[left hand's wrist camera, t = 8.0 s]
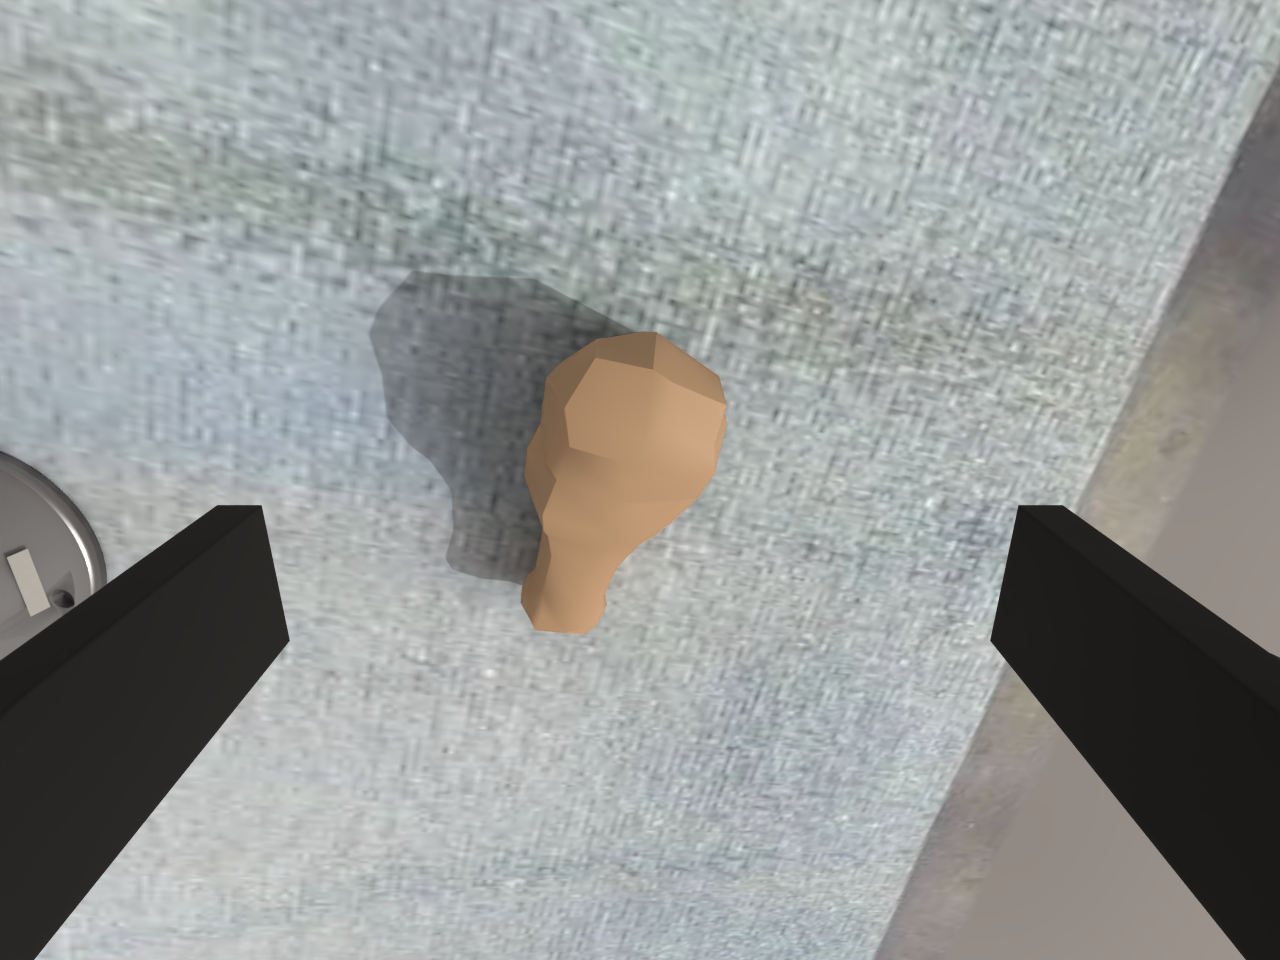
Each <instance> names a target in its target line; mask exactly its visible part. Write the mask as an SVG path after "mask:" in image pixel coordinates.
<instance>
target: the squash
mask: <svg viewBox="0 0 1280 960" xmlns="http://www.w3.org/2000/svg"><path fill="white" fill-rule="evenodd" d="M726 406H727V405H726V401H725V397H724V393H723V390H722V386H721V382H720V378H719V376H718V375H717V374H715V373H714V372H712V371H711V370H710V369H708V368H707V367H705V366H704V365H702V364H701V363H700V362H698V361H697V360H695V359H694V358H693V357H691V356H690V355H688V354H687V353H685V352H684V351H683V350H681V349H680V348H678V347H677V346H676V345H674V344H673V343H671V342H670V341H668V340H667V339H666V338H664V337H663V336H661V335H660V334H658V333H657V332H637V333H631V334H625V335H619V336H614V337H607V338H598V339H596V340H594V341H593V342H591V343H589V344H588V345H586V346H585V347H583V348H582V349H580V350H579V351H577V352H576V353H574V354H573V355H571V356H570V357H568V358H566V359H565V360H563V361H562V362H560V363H559V364H558V365H557V366H556V367H555V368H554V370H553V371H552V372H551V373H550V374H549V375H548V376H547V378H546V382H545V390H544V398H543V405H542V413H541V421H540V425H539V427H538V428H537V430H536V432H535V434H534V436H533V438H532V440H531V442H530V443H529V445H528V447H527V453H526V464H525V475H524V478H525V481H526V484H527V486H528V489H529V492H530V495H531V497H532V500H533V503H534V506H535V509H536V511H537V514H538V517H539V520H540V523H541V525H542V534H541V541H540V546H539V551H538V556H537V561H536V566H535V569H534V570H533V571H532V572H530V573H529V574H528V575H527V576H526V579H525V581H524V584H523V586H522V594H521V604H522V606H523V607H524V609H525V611H526V613H527V615H528V617H529V618H530V620H531V622H532V624H533V626H534V628H535V630H540V631H550V632H561V633H578V634H586V633H588V632H589V631H590V630H591V629H592V628H593V627H595V626H596V625H597V623H598V621H599V620H600V618H601V616H602V615H603V613H604V611H605V607H606V604H607V603H606V597H605V593H606V591H607V588H608V586H609V584H610V581H611V579H612V577H613V575H614V573H615V571H616V569H617V567H618V566H619V565H620V564H621V562H622V561H623V560H624V559H625V558H626V557H627V556H628V555H629V554H630V553H631V552H632V551H633V550H634V549H635V548H636V547H637V546H638V545H639V544H641V543H643V542H644V541H646V540H648V539H650V538H651V537H653V536H655V535H657V534H658V533H659V532H660V531H661V530H663V529H664V528H665V527H666V526H668V525H669V524H670V523H671V522H673V521H674V520H675V519H676V518H677V517H678V516H679V515H680V514H681V513H682V512H683V511H685V510H686V509H687V508H688V507H689V506H690V505H691V504H692V503H693V502H694V501H695V500H696V499H697V498H698V497H699V496H700V494H701V493H702V491H703V490H704V489H705V487H706V486H707V484H708V483H709V482H710V480H711V479H712V477H713V476H714V474H715V470H716V466H717V462H718V458H719V454H720V449H721V445H722V441H723V437H724V434H725V430H726V427H727V425H726V418H725V409H726Z"/></svg>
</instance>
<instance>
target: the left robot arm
mask: <svg viewBox="0 0 1280 960" xmlns="http://www.w3.org/2000/svg"><path fill="white" fill-rule="evenodd" d="M289 641H290V640H289V635H288V630H287V625H286V620H285V616H284V611H283V606H282V601H281V596H280V592H279V587H278V582H277V577H276V572H275V568H274V563H273V558H272V553H271V548H270V544H269V539H268V534H267V529H266V524H265V520H264V515H263V510H262V505H217V506H216V507H214V508H213V509H211V510H210V511H209V512H207V513H206V514H204V515H203V516H202V517H200V518H199V519H197V520H196V521H195V522H193V523H192V524H190V525H189V526H188V527H186V528H185V529H183V530H182V531H181V532H179V533H178V534H176V535H175V536H174V537H172V538H171V539H169V540H168V541H167V542H165V543H164V544H162V545H161V546H160V547H158V548H157V549H155V550H154V551H153V552H151V553H150V554H148V555H147V556H146V557H144V558H143V559H141V560H140V561H139V562H137V563H136V564H134V565H133V566H132V567H130V568H129V569H127V570H126V571H125V572H123V573H122V574H120V575H119V576H118V577H116V578H115V579H113V580H112V581H111V582H109V583H108V584H107V574H106V565H105V561H104V556H103V553H102V550H101V547H100V544H99V542H98V540H97V537H96V535H95V533H94V531H93V530H92V528H91V526H90V524H89V523H88V521H87V520H86V518H85V517H84V515H83V514H82V513H81V511H80V510H79V509H78V508H77V506H76V505H75V504H74V503H73V502H72V501H71V500H70V499H69V498H68V497H67V495H66V494H65V493H63V492H62V491H61V490H60V489H59V488H58V487H57V486H56V485H55V484H53V483H52V482H51V481H49V480H48V479H47V478H46V477H44V476H43V475H41V474H40V473H38V472H37V471H35V470H34V469H32V468H31V467H29V466H27V465H25V464H24V463H22V462H20V461H18V460H16V459H14V458H12V457H9V456H7V455H4V454H2V453H0V960H34V959H35V958H36V957H37V955H38V954H39V953H40V952H41V950H42V949H43V948H44V947H45V945H46V944H47V943H48V942H49V940H50V939H51V938H52V937H53V935H54V934H55V933H56V932H57V930H58V929H59V928H60V927H61V926H62V924H63V923H64V922H65V921H66V919H67V918H68V917H69V916H70V914H71V913H72V912H73V911H74V909H75V908H76V907H77V906H78V904H79V903H80V902H81V901H82V899H83V898H84V897H85V896H86V894H87V893H88V892H89V891H90V889H91V888H92V887H93V886H94V884H95V883H96V882H97V881H98V879H99V878H100V877H101V876H102V874H103V873H104V872H105V871H106V869H107V868H108V867H109V866H110V864H111V863H112V862H113V861H114V859H115V858H116V857H117V856H118V854H119V853H120V852H121V851H122V849H123V848H124V847H125V846H126V844H127V843H128V842H129V841H130V839H131V838H132V837H133V836H134V834H135V833H136V832H137V831H138V829H139V828H140V827H141V826H142V824H143V823H144V822H145V821H146V819H147V818H148V817H149V816H150V814H151V813H152V812H153V811H154V809H155V808H156V807H157V806H158V804H159V803H160V802H161V801H162V799H163V798H164V797H165V796H166V794H167V793H168V792H169V791H170V789H171V788H172V787H173V786H174V784H175V783H176V782H177V781H178V779H179V778H180V777H181V776H182V774H183V773H184V772H185V771H186V769H187V768H188V767H189V766H190V764H191V763H192V762H193V761H194V759H195V758H196V757H197V756H198V755H199V753H200V752H201V751H202V750H203V748H204V747H205V746H206V745H207V743H208V742H209V741H210V740H211V738H212V737H213V736H214V735H215V733H216V732H217V731H218V730H219V728H220V727H221V726H222V725H223V723H224V722H225V721H226V720H227V718H228V717H229V716H230V715H231V713H232V712H233V711H234V710H235V708H236V707H237V706H238V705H239V703H240V702H241V701H242V700H243V698H244V697H245V696H246V695H247V693H248V692H249V691H250V690H251V688H252V687H253V686H254V685H255V683H256V682H257V681H258V680H259V678H260V677H261V676H262V675H263V673H264V672H265V671H266V670H267V668H268V667H269V666H270V665H271V663H272V662H273V661H274V660H275V658H276V657H277V656H278V655H279V653H280V652H281V651H282V650H283V648H284V647H285V646H286V645H287V643H288V642H289ZM990 641H991V642H992V643H993V645H994V646H995V647H996V648H997V650H998V651H999V652H1000V653H1001V655H1002V656H1003V657H1004V658H1005V660H1006V661H1007V662H1008V663H1009V665H1010V666H1011V667H1012V668H1013V670H1014V671H1015V672H1016V673H1017V675H1018V676H1019V677H1020V678H1021V680H1022V681H1023V682H1024V683H1025V685H1026V686H1027V687H1028V688H1029V690H1030V691H1031V692H1032V693H1033V695H1034V696H1035V697H1036V698H1037V700H1038V701H1039V702H1040V703H1041V705H1042V706H1043V707H1044V708H1045V710H1046V711H1047V712H1048V713H1049V715H1050V716H1051V717H1052V718H1053V720H1054V721H1055V722H1056V723H1057V725H1058V726H1059V727H1060V728H1061V730H1062V731H1063V732H1064V733H1065V735H1066V736H1067V737H1068V738H1069V739H1070V741H1071V742H1072V743H1073V744H1074V746H1075V747H1076V748H1077V750H1078V751H1079V752H1080V753H1081V755H1082V756H1083V757H1084V758H1085V759H1086V761H1087V762H1088V763H1089V764H1090V766H1091V767H1092V768H1093V769H1094V771H1095V772H1096V773H1097V774H1098V776H1099V777H1100V778H1101V779H1102V781H1103V782H1104V783H1105V784H1106V786H1107V787H1108V788H1109V789H1110V791H1111V792H1112V793H1113V794H1114V796H1115V797H1116V798H1117V799H1118V801H1119V802H1120V803H1121V804H1122V806H1123V807H1124V808H1125V809H1126V811H1127V812H1128V813H1129V814H1130V816H1131V817H1132V818H1133V819H1134V821H1135V822H1136V823H1137V824H1138V826H1139V827H1140V828H1141V829H1142V831H1143V832H1144V833H1145V834H1146V836H1147V837H1148V838H1149V839H1150V841H1151V842H1152V843H1153V844H1154V846H1155V847H1156V848H1157V849H1158V851H1159V852H1160V853H1161V854H1162V856H1163V857H1164V858H1165V859H1166V861H1167V862H1168V863H1169V864H1170V866H1171V867H1172V868H1173V869H1174V871H1175V872H1176V873H1177V874H1178V876H1179V877H1180V878H1181V879H1182V881H1183V882H1184V883H1185V884H1186V886H1187V887H1188V888H1189V889H1190V891H1191V892H1192V893H1193V894H1194V896H1195V897H1196V898H1197V899H1198V901H1199V902H1200V903H1201V904H1202V906H1203V907H1204V908H1205V909H1206V911H1207V912H1208V913H1209V914H1210V916H1211V917H1212V918H1213V919H1214V921H1215V922H1216V923H1217V924H1218V926H1219V927H1220V928H1221V929H1222V931H1223V932H1224V933H1225V934H1226V935H1227V937H1228V938H1229V939H1230V940H1231V942H1232V943H1233V944H1234V945H1235V947H1236V948H1237V949H1238V950H1239V952H1240V953H1241V954H1242V955H1243V957H1244V958H1245V959H1246V960H1280V658H1279V657H1277V656H1275V655H1273V654H1270V653H1269V652H1267V651H1266V650H1265V649H1263V648H1262V647H1260V646H1259V645H1258V644H1256V643H1255V642H1253V641H1252V640H1251V639H1249V638H1248V637H1246V636H1245V635H1244V634H1242V633H1241V632H1239V631H1238V630H1236V629H1235V628H1234V627H1232V626H1231V625H1230V624H1228V623H1227V622H1225V621H1224V620H1222V619H1221V618H1220V617H1218V616H1217V615H1216V614H1214V613H1213V612H1211V611H1210V610H1209V609H1207V608H1206V607H1204V606H1203V605H1202V604H1200V603H1199V602H1197V601H1196V600H1194V599H1193V598H1192V597H1190V596H1189V595H1188V594H1186V593H1185V592H1183V591H1182V590H1180V589H1179V588H1178V587H1176V586H1175V585H1173V584H1172V583H1171V582H1169V581H1168V580H1167V579H1165V578H1164V577H1162V576H1161V575H1159V574H1158V573H1157V572H1155V571H1154V570H1153V569H1151V568H1150V567H1148V566H1147V565H1146V564H1144V563H1143V562H1141V561H1140V560H1139V559H1137V558H1136V557H1134V556H1133V555H1132V554H1130V553H1129V552H1127V551H1126V550H1125V549H1123V548H1122V547H1120V546H1119V545H1118V544H1116V543H1115V542H1113V541H1112V540H1111V539H1109V538H1108V537H1106V536H1105V535H1104V534H1102V533H1101V532H1099V531H1098V530H1097V529H1095V528H1094V527H1092V526H1091V525H1090V524H1088V523H1087V522H1085V521H1084V520H1083V519H1081V518H1080V517H1078V516H1077V515H1076V514H1074V513H1073V512H1071V511H1070V510H1069V509H1067V508H1066V507H1064V506H1063V505H1018V510H1017V515H1016V520H1015V524H1014V529H1013V534H1012V539H1011V544H1010V548H1009V553H1008V558H1007V563H1006V568H1005V572H1004V577H1003V582H1002V587H1001V592H1000V596H999V601H998V606H997V611H996V616H995V620H994V625H993V630H992V635H991V640H990Z"/></svg>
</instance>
